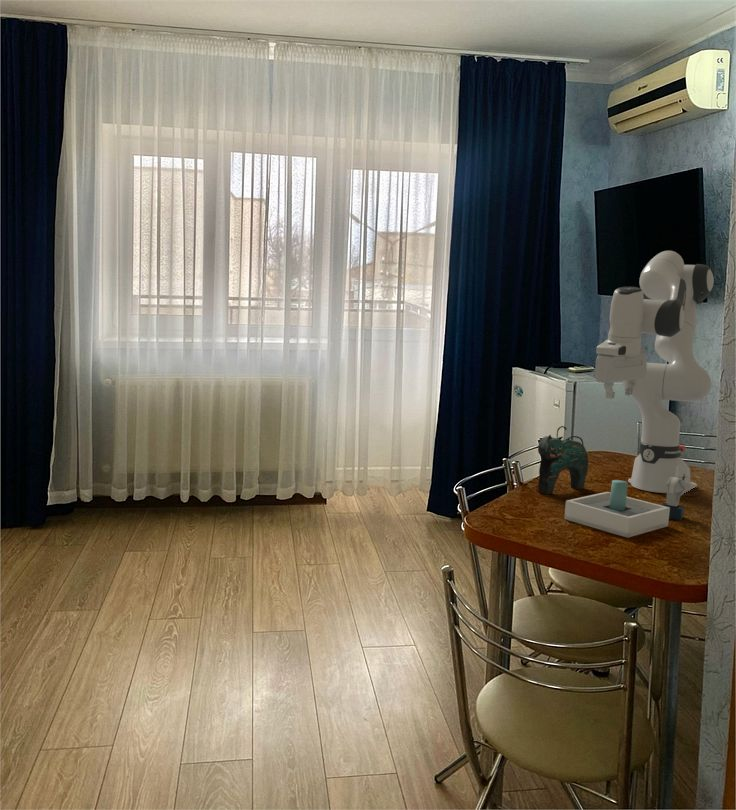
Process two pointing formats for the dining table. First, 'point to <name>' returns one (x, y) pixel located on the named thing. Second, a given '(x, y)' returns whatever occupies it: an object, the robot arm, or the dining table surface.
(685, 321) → the robot arm
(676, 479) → the watch
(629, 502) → the open box
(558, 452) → the ceramic cat
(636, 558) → the dining table surface
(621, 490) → the peg
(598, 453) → the dining table surface
